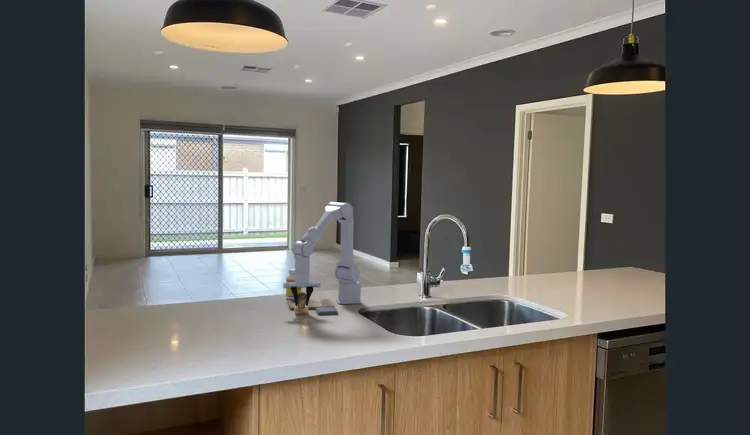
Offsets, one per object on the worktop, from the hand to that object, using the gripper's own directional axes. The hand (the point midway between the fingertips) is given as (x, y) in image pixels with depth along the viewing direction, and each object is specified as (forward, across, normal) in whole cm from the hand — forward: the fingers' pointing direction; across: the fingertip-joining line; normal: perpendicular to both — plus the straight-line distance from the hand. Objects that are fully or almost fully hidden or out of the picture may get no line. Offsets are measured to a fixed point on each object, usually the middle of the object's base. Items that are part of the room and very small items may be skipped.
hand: (301, 305), depth 211 cm
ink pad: (+3, +10, 0) cm, 10 cm away
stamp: (+3, 0, 0) cm, 3 cm away
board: (+3, +5, +12) cm, 13 cm away
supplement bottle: (+3, -1, +26) cm, 26 cm away
